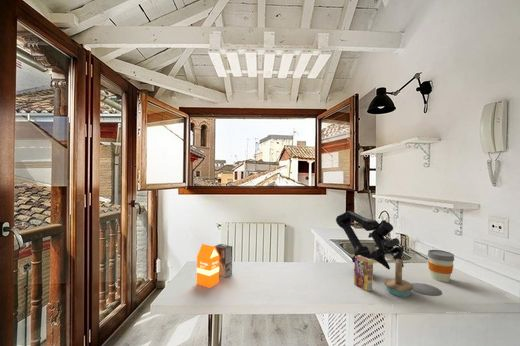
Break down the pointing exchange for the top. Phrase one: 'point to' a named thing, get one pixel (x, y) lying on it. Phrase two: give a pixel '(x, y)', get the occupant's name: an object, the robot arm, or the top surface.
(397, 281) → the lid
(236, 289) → the top surface
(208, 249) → the orange juice
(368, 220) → the robot arm
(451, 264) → the reusable coffee cup
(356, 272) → the candy box
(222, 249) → the coffee box
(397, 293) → the bowl
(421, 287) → the mat
